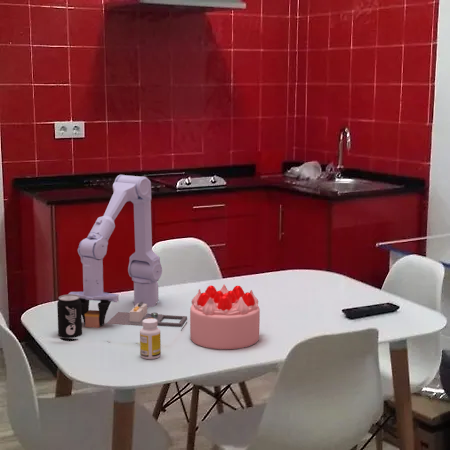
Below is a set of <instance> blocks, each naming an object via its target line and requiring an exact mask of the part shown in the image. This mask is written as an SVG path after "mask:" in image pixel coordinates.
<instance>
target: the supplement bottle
mask: <svg viewBox="0 0 450 450" xmlns="http://www.w3.org/2000/svg"><path fill="white" fill-rule="evenodd" d="M161 343H162V341H161V330H160V328H159V326H158V321H157V320H156V319H144V320H143V321H142V326H141V328H140V330H139V351H140V352H139V354H140V355H139V356H140V357H141V359H146V360H153V359H154V360H155V359H158V358H160V357H161V355H162V351H161V349H162V348H161V346H162V345H161Z"/></svg>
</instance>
